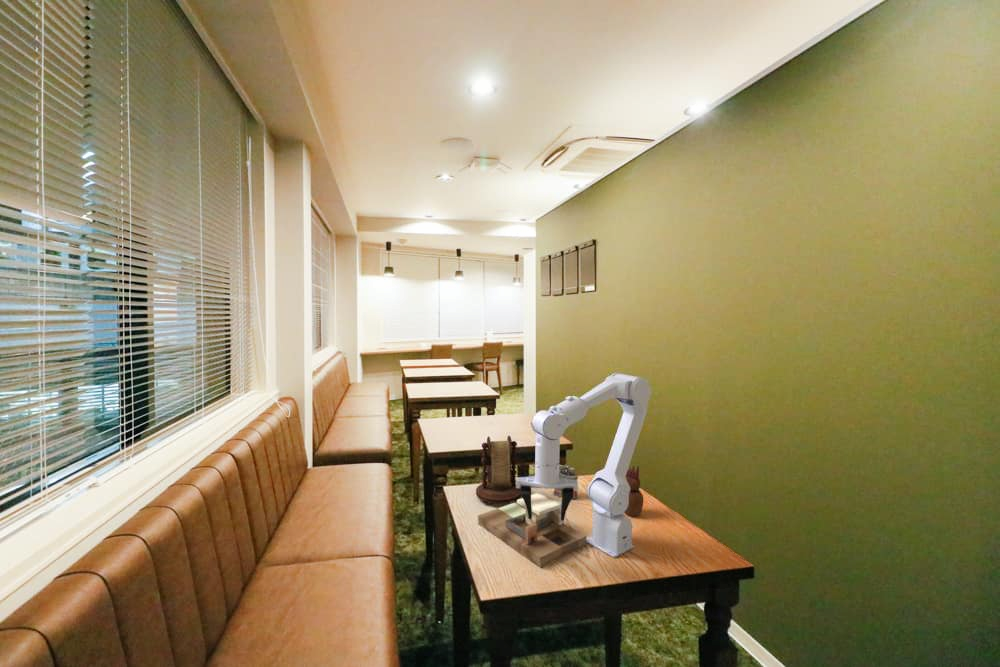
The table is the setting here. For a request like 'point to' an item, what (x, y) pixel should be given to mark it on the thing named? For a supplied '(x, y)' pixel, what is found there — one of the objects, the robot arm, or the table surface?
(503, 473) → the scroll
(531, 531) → the carriage
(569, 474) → the lighter
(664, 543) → the table surface
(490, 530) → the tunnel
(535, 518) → the block
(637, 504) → the wooden figurine
